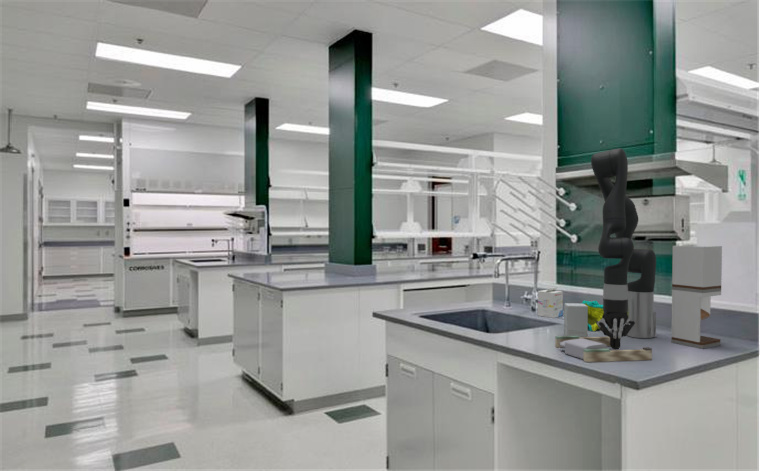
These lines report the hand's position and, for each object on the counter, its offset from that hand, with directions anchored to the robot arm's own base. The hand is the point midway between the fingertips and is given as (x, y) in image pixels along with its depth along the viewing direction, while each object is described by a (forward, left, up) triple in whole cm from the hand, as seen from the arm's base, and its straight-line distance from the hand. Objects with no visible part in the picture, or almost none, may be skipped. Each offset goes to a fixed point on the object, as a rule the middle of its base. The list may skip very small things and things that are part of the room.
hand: (615, 349), depth 167 cm
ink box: (-10, -66, -1) cm, 67 cm away
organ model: (-14, -39, -1) cm, 41 cm away
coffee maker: (-36, -7, -1) cm, 36 cm away
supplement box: (+2, -21, -1) cm, 22 cm away
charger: (+13, +1, -1) cm, 13 cm away
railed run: (+5, +1, -1) cm, 5 cm away
